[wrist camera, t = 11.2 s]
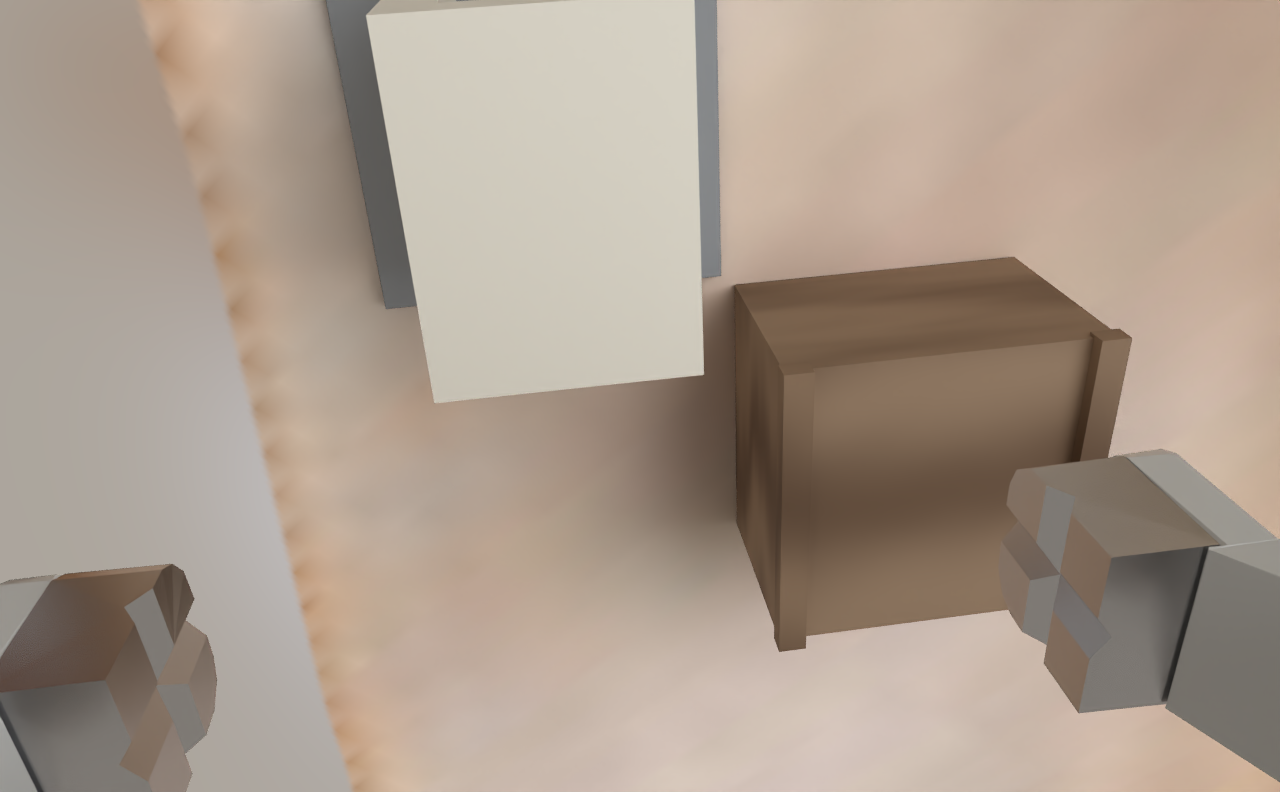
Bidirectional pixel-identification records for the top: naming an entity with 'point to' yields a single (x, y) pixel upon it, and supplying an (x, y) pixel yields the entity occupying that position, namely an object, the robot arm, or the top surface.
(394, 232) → the mat
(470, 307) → the cream square bin
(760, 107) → the top surface
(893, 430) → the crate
